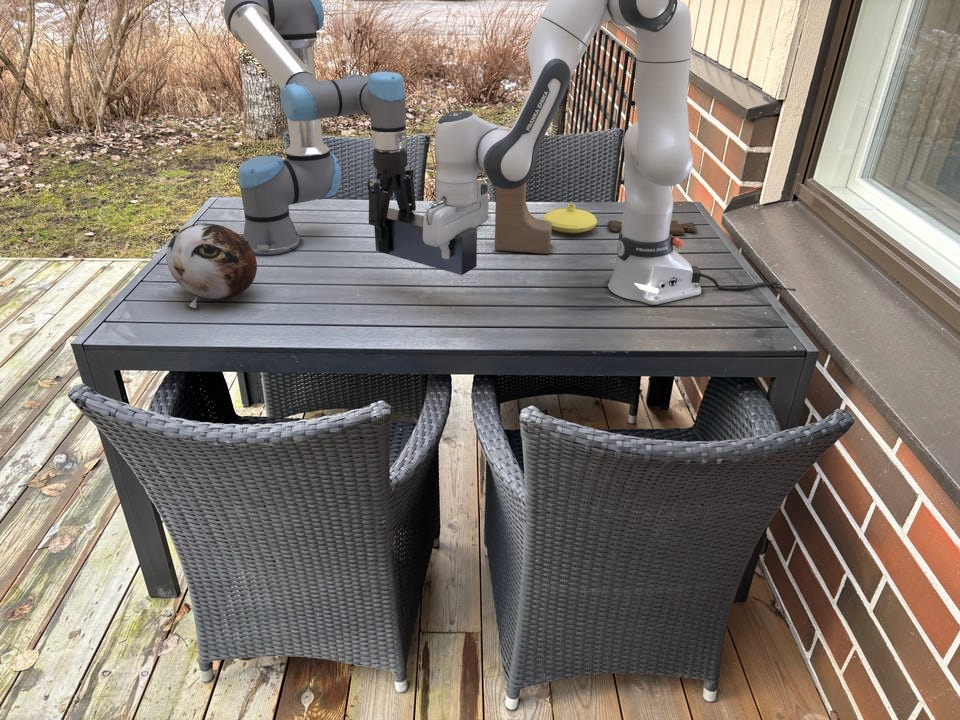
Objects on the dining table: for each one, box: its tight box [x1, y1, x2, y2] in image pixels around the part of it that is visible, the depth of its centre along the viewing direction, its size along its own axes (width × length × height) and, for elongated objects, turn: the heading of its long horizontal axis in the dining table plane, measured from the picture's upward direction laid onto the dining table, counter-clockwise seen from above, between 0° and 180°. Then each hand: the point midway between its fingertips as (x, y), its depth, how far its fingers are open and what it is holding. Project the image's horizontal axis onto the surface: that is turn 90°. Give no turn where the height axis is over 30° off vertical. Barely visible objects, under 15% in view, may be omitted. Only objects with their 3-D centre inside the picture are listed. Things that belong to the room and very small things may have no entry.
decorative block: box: [494, 181, 553, 255], centre depth 190 cm, size 8×15×30 cm, turn 82°
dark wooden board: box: [607, 219, 697, 235], centre depth 211 cm, size 26×2×10 cm
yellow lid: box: [543, 203, 598, 234], centre depth 209 cm, size 16×16×7 cm
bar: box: [373, 207, 478, 276], centre depth 162 cm, size 25×6×9 cm, turn 57°
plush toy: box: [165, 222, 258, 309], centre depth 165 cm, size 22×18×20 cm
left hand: (394, 247), depth 168 cm, fingers open, 7 cm apart
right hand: (456, 252), depth 159 cm, fingers closed on bar, 6 cm apart
